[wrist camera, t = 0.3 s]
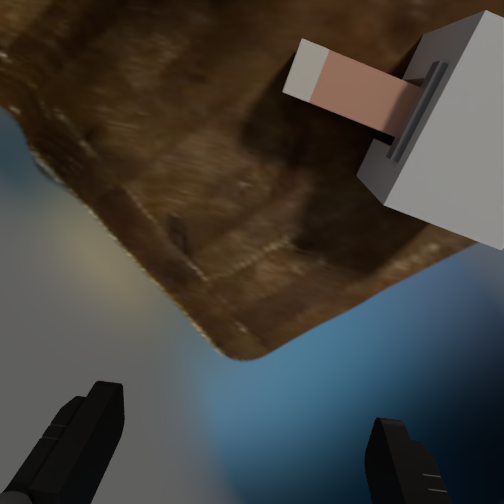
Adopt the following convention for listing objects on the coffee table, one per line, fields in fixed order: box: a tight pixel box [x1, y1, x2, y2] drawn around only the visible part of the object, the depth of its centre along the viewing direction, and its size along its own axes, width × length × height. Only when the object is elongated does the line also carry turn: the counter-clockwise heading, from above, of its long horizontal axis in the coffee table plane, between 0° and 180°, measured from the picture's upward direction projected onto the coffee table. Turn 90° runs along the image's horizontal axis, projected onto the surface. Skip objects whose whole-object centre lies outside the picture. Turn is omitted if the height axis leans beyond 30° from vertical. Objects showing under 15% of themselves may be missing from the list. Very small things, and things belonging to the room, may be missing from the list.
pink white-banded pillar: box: [282, 39, 420, 137], centre depth 30 cm, size 4×16×6 cm, turn 70°
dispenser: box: [356, 10, 504, 250], centre depth 29 cm, size 12×10×10 cm
